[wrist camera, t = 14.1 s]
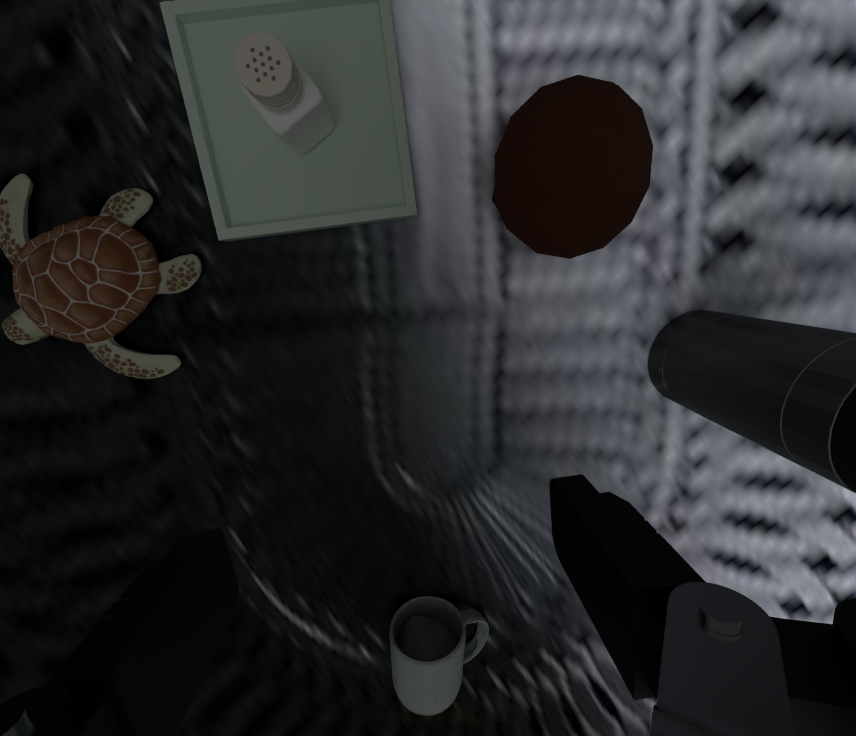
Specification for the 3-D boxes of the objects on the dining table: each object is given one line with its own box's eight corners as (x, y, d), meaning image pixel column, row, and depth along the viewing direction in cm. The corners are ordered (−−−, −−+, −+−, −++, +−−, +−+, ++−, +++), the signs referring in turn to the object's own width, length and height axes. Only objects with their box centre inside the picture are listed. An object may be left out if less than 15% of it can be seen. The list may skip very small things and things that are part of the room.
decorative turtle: (-53, 242, 33) (-131, 238, 28) (106, 125, 32) (53, 100, 27) (107, 416, 38) (63, 438, 33) (252, 319, 36) (229, 328, 31)
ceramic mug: (393, 656, 46) (393, 732, 39) (389, 597, 44) (389, 664, 37) (485, 648, 47) (502, 720, 40) (486, 589, 45) (504, 653, 37)
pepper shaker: (339, 128, 32) (314, 73, 23) (300, 161, 32) (261, 120, 23) (305, 81, 31) (265, 4, 22) (265, 115, 32) (210, 54, 22)
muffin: (513, 86, 33) (561, 11, 23) (630, 146, 34) (719, 100, 25) (455, 229, 35) (476, 216, 25) (567, 279, 37) (626, 284, 27)
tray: (387, -7, 31) (387, -23, 29) (416, 217, 35) (417, 214, 33) (173, 17, 30) (159, 2, 28) (228, 241, 34) (218, 240, 32)
